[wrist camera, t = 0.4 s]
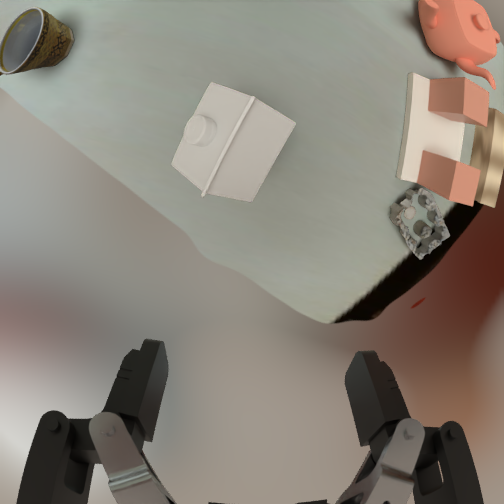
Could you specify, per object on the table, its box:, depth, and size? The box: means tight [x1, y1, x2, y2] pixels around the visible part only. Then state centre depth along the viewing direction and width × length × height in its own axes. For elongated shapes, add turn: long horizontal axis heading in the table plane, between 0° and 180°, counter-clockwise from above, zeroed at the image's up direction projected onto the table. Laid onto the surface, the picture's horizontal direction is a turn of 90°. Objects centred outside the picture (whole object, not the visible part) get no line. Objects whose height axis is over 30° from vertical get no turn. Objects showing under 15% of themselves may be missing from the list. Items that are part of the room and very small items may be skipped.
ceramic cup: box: [0, 7, 74, 75], centre depth 20 cm, size 13×10×10 cm
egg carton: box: [389, 188, 450, 259], centre depth 36 cm, size 11×8×4 cm
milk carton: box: [171, 82, 296, 202], centre depth 24 cm, size 7×7×19 cm
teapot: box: [418, 0, 500, 90], centre depth 18 cm, size 14×14×11 cm
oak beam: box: [470, 108, 504, 207], centre depth 29 cm, size 16×4×5 cm, turn 175°
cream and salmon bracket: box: [396, 73, 489, 206], centre depth 27 cm, size 16×11×10 cm
